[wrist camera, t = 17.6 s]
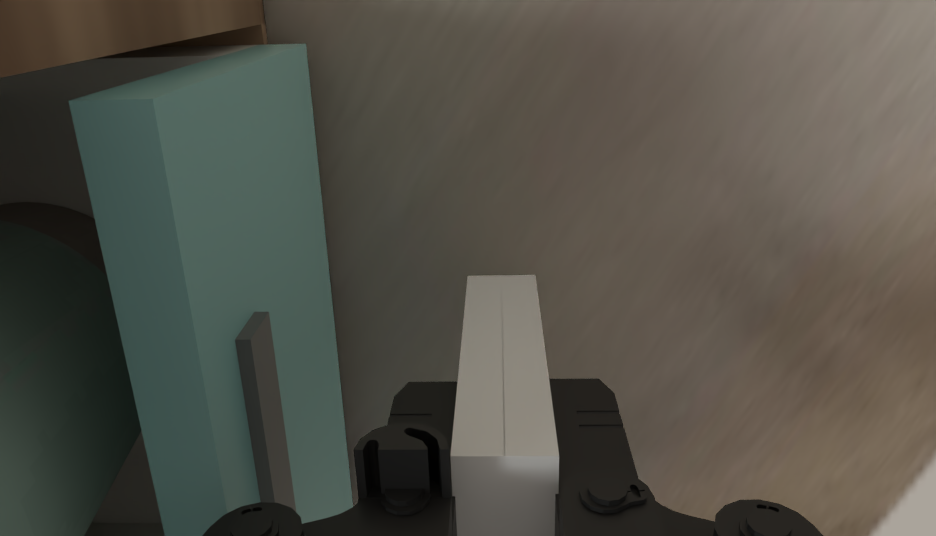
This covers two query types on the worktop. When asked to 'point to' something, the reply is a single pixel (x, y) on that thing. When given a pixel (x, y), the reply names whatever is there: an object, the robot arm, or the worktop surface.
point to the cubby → (118, 28)
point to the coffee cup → (58, 373)
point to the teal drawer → (199, 270)
